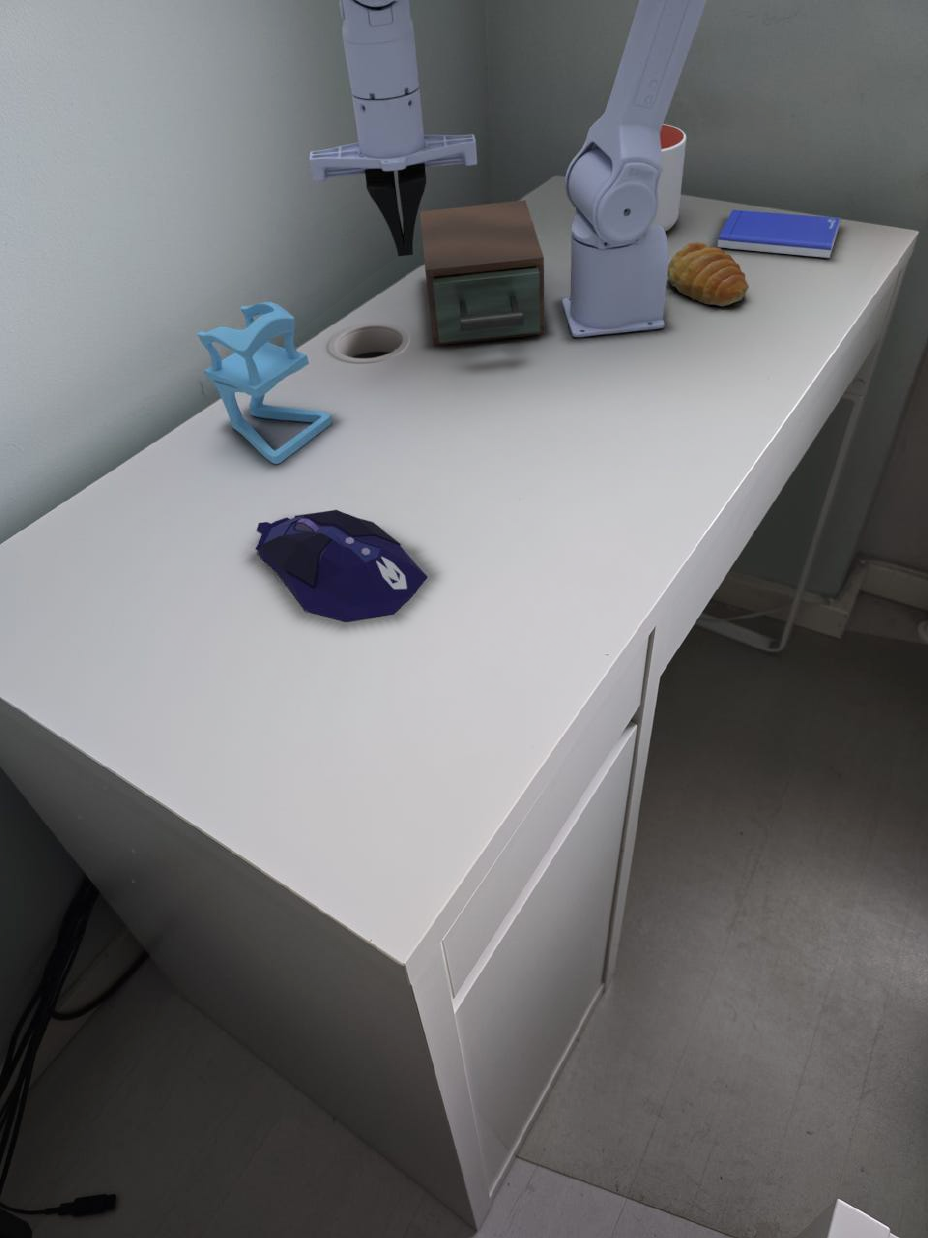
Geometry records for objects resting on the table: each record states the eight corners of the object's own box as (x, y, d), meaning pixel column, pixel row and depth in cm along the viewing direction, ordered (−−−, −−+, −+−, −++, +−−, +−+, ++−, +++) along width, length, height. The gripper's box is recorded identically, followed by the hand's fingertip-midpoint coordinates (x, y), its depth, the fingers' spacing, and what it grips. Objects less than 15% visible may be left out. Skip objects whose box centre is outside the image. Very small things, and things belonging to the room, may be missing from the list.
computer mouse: (372, 640, 62) (363, 600, 59) (220, 574, 68) (205, 535, 65) (442, 562, 67) (437, 522, 65) (295, 507, 74) (285, 468, 71)
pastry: (762, 299, 92) (769, 263, 89) (710, 317, 91) (714, 281, 88) (708, 266, 98) (712, 232, 96) (657, 283, 97) (660, 248, 94)
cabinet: (544, 334, 91) (543, 257, 85) (433, 345, 91) (425, 269, 85) (527, 272, 101) (525, 199, 95) (427, 283, 101) (419, 211, 95)
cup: (674, 207, 110) (683, 120, 103) (680, 241, 103) (689, 150, 96) (594, 210, 111) (597, 124, 104) (595, 243, 105) (598, 154, 97)
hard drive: (841, 216, 101) (733, 207, 105) (832, 245, 96) (718, 235, 100) (838, 229, 102) (731, 220, 106) (829, 259, 97) (716, 248, 101)
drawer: (546, 356, 86) (546, 295, 81) (441, 367, 86) (435, 307, 81) (524, 274, 98) (522, 217, 94) (432, 283, 98) (426, 227, 94)
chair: (270, 399, 86) (239, 281, 77) (334, 422, 82) (308, 301, 73) (213, 439, 82) (173, 318, 73) (277, 465, 78) (243, 342, 69)
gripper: (296, 113, 70) (327, 277, 80) (475, 94, 70) (485, 261, 80) (301, 87, 75) (330, 245, 85) (468, 69, 75) (478, 229, 85)
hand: (405, 251), depth 83 cm, fingers closed
